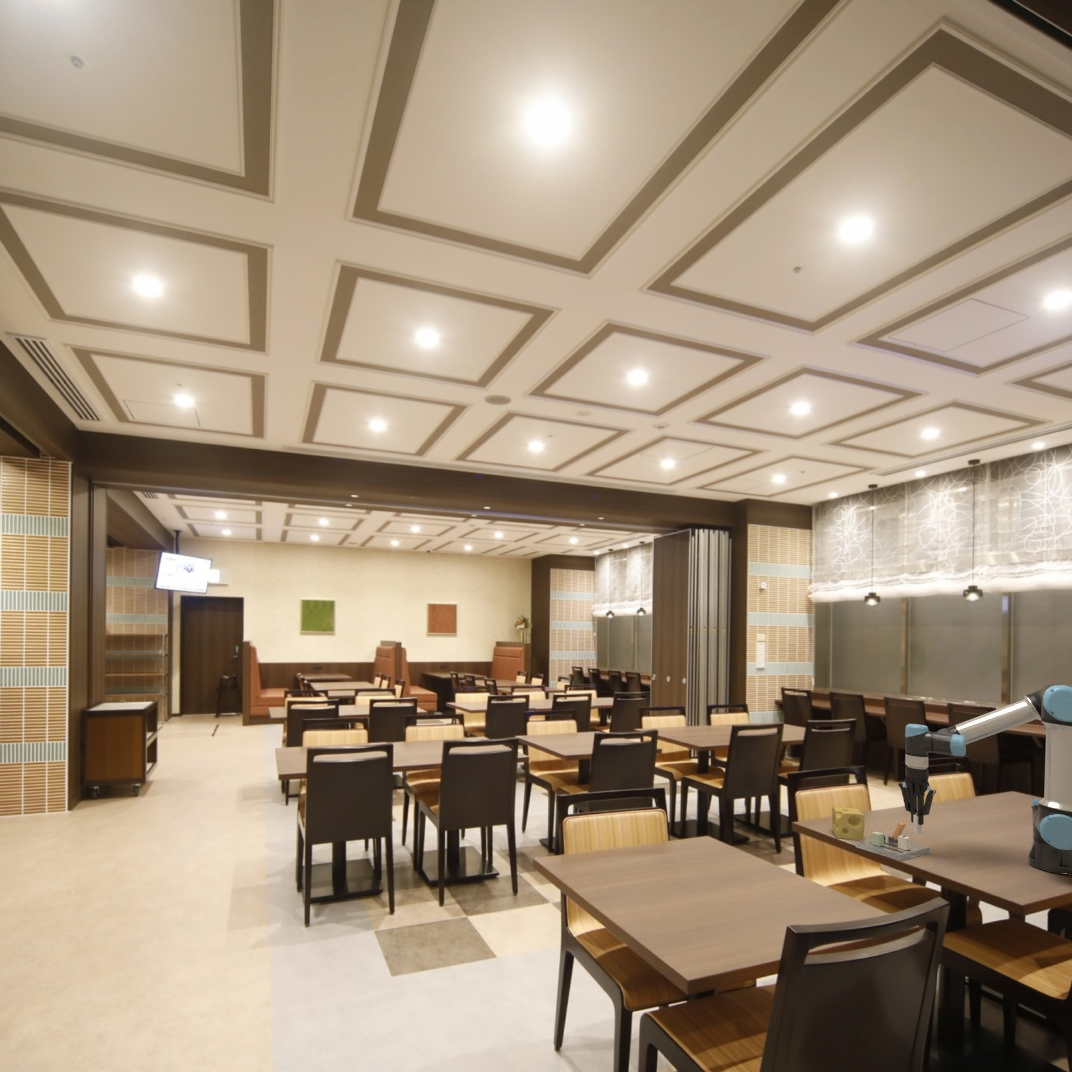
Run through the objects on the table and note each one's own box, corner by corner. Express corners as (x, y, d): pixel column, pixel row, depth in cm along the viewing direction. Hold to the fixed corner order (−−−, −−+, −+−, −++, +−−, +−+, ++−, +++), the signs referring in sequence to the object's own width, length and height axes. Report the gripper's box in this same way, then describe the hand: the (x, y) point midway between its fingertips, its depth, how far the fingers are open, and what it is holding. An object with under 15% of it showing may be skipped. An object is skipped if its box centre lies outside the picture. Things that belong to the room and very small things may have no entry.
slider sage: (883, 845, 256) (883, 833, 256) (879, 846, 254) (879, 834, 255) (876, 842, 258) (875, 830, 259) (871, 843, 257) (871, 831, 257)
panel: (929, 853, 256) (929, 842, 257) (900, 861, 245) (900, 849, 246) (884, 840, 270) (884, 829, 271) (855, 847, 259) (855, 836, 260)
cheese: (835, 838, 269) (835, 811, 271) (831, 830, 280) (830, 805, 281) (864, 841, 267) (864, 814, 268) (858, 834, 277) (858, 808, 279)
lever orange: (898, 841, 262) (906, 824, 261) (894, 842, 261) (901, 825, 259) (894, 839, 264) (902, 821, 262) (890, 840, 262) (898, 822, 260)
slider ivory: (910, 849, 253) (910, 836, 253) (906, 850, 251) (905, 837, 252) (902, 846, 255) (902, 834, 256) (898, 847, 254) (897, 835, 254)
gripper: (940, 770, 255) (940, 836, 252) (904, 762, 266) (905, 827, 263) (929, 771, 251) (930, 839, 248) (894, 764, 262) (894, 829, 259)
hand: (917, 833), depth 256 cm, fingers closed
